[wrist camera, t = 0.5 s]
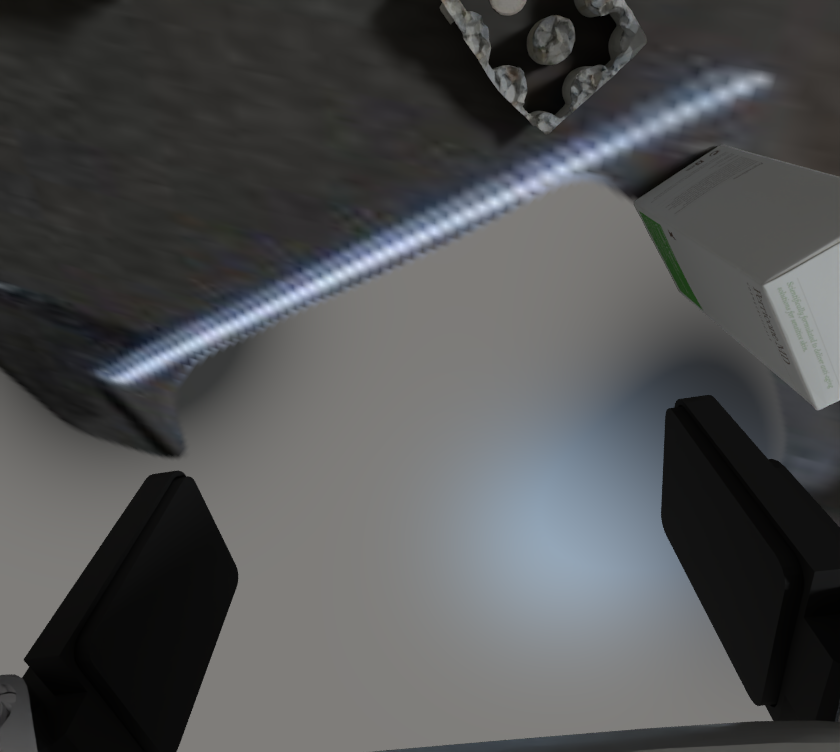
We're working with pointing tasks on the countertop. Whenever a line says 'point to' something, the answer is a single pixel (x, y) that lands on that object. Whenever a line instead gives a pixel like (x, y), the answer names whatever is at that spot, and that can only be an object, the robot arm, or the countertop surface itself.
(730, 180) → the skincare box
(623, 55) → the egg carton
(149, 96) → the countertop surface
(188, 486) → the robot arm
